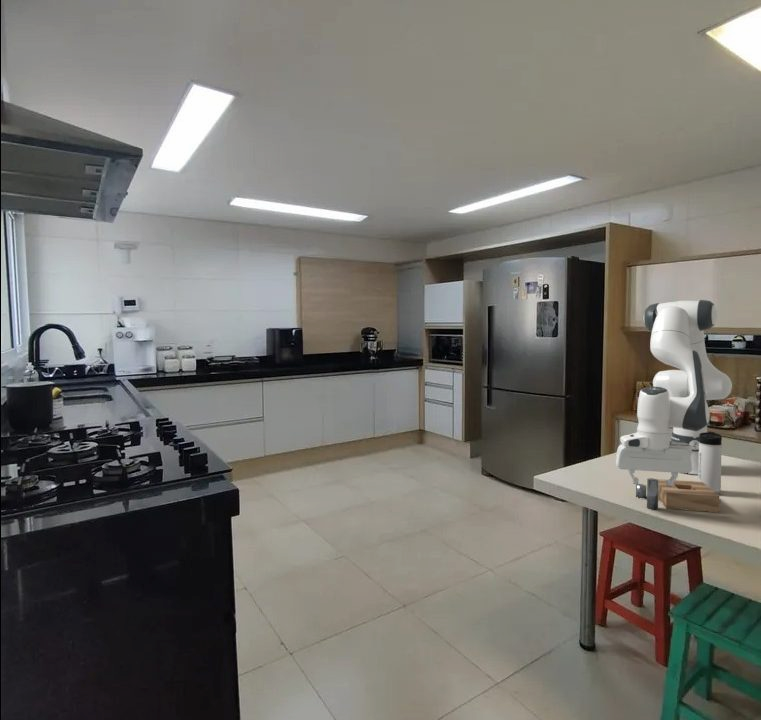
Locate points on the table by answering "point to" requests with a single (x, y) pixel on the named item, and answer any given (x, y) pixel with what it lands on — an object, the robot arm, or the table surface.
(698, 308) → the robot arm
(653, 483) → the tall pin
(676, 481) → the hole block
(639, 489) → the short pin
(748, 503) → the table surface
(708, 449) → the travel mug
